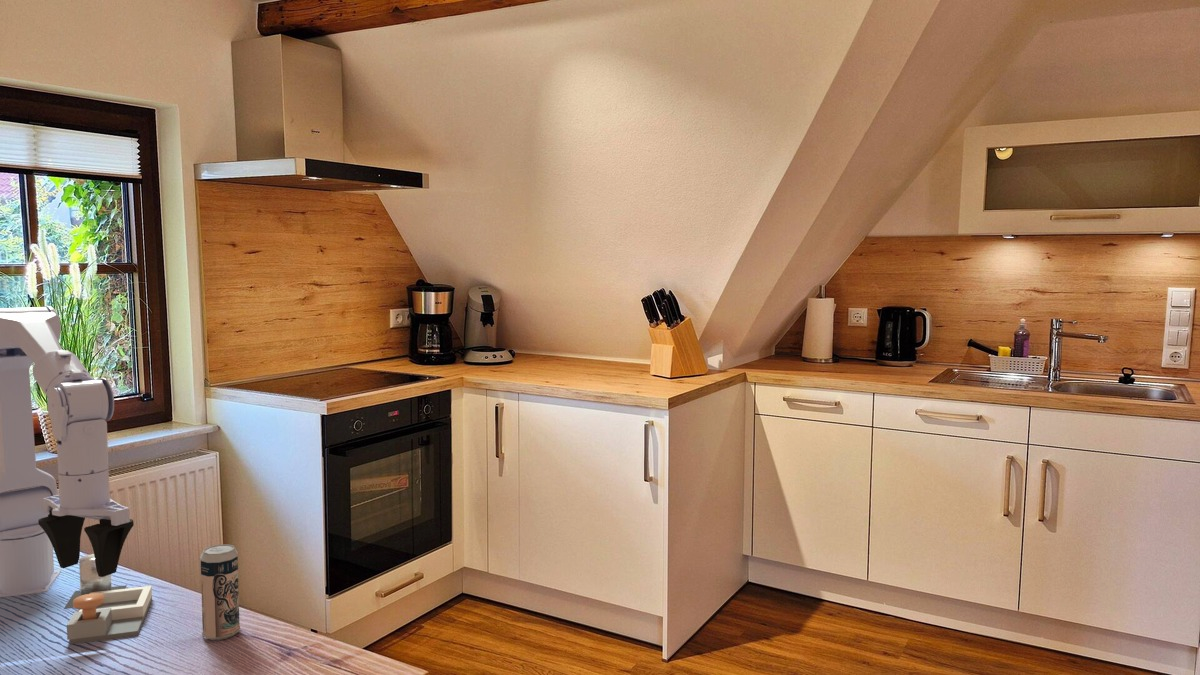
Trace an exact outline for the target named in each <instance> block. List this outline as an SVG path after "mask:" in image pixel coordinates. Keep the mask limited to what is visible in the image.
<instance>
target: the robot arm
mask: <svg viewBox="0 0 1200 675" xmlns="http://www.w3.org/2000/svg"><path fill="white" fill-rule="evenodd" d="M61 325H62V323H61V319H60V316H59V313H58V312H57V310H56V309H55V308H54V307H53V306H51V305H45V306H37V307H36V306H33V307H29V306H27V307H0V598H5V597H17V596H25V595H35V594H42V593H46V592H48V591H49V589H50V588H51V587H52V585H53V584H54V582H55V581H56V580H57V578H58V577H59V575H60V574H61V573H62V570H61V569H66V568H69V567H73V566H74V565H75V566H76V565H79V559H80V558H81V557H80V554H81V553H80V552H81V538H82V532H83V531H82V530H84V532H85V535H86V536H87V538H88V539H89V542H90V544H91V546H92V550H93V554H94V556H95V564H96V570H97V573H98V576H99V577H104V576H107V575H110V574H111V575H113V574H115V573H117V568H118V566H119V560H120V557H121V553H122V550H123V546H124V544H125V542H126V539H127V537H128V535H129V533H130V532H131V530H132V528H133V527H134V519H131V516H130V507H128V506H124V505H122V504H120V503H118V502H116V501H115V500H113V499H112V498H111V496H110V490H111V489H110V470H109V469H110V467H109V446H108V444H109V443H108V422H107V421H110V420H111V419H112V417H113V415H114V410H115V398H114V397H115V396H114V392H113V388H112V385H111V384H110V382H109V380H108V379H107V378H105V377H98V376H92V375H91V374H90V372H89V371H88V370H87V369H86V368H87V367H85V366H84V365H83V363H82V362H81V360H80V358H78V356H77V355H76V354H75V353H73V352H71V351H70V350H67V349H66V350H65V349H63V348H62V346H61V345H60V342H59V340H60V339H61V333H62V330H61V329H62V327H61ZM33 364H34V365H33ZM32 365H33V367H32V375H33V379H35V381H36V383H37V384H38V385H39V387H40V389H41V390H42V392H43V393H44V394H45V396H46V397H47V404H46V405H47V413H48V416H49V419H50V422H51V433H52V437H53V438H54V439H56V448H57V450H56V452H57V454H56V455H57V472H58V473H57V474H58V475H57V477H58V485H57V481H56V478H55V477H54V476H53V475H52V474H50V473H49V472H46V471H45V470H42V469H40V468H37V458H36V445H35V431H34V430H35V429H34V417H33V404H32V403H33V401H32V390H31V377H30V368H31V366H32ZM57 487H58V488H57ZM86 519H89V520H95V521H99V523H96V524H92V525H89V526H86V527H84V528H83V526H84V523H85V520H86ZM54 553H55V556H56V560H57V562H58V565H59V567H60V569H55V564H54V562H55V560H54V559H55V558H54Z"/></svg>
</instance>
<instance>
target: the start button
mask: <svg viewBox="0 0 1200 675" xmlns="http://www.w3.org/2000/svg"><path fill="white" fill-rule="evenodd" d="M104 602H105V601H104V594H101V593H91V594H85V595H82V596H79V597H77V598H75V599H74V600H73V608H74V609H75V610H81V609H82V615H83V620H90V619H97V616H96V607H98V606H100V605H102V604H103V603H104ZM73 608H72V609H73Z"/></svg>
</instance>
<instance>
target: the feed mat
mask: <svg viewBox="0 0 1200 675" xmlns="http://www.w3.org/2000/svg"><path fill="white" fill-rule="evenodd" d="M127 586H128V585H127V584H126V585H117V586H111V588H112V590H118V589H127ZM79 596H81V591H80V589H79V590H74V592H73V593H72V595H71V596H70V598H69V600H67V603H66V604H65V605H64V607H63V609H64V610H65V609H73V600H74V599H75V598H77V597H79Z"/></svg>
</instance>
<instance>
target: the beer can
mask: <svg viewBox="0 0 1200 675" xmlns="http://www.w3.org/2000/svg"><path fill="white" fill-rule="evenodd" d="M238 557H239V552H238V551H237V549H236V547H235V545H232V544H215V545H211V546H208V547H206V548H204V549H203V550H202V553H201V555H200V557H199V561H200V581H201V583H200V584H201V585H200V588H201V614H202V615H201V616H202V619H201V620H202V622H201V624H202V632H201V635H202V636H203V638H206V639H208V640H212V641H223V640H226V639H229V638H231V637H234V636H235V635H236V634H238V632H239V631H240V630H241V626H240V596H239V595H240V592H239V590H240V589H239V560H238V559H239V558H238Z"/></svg>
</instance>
